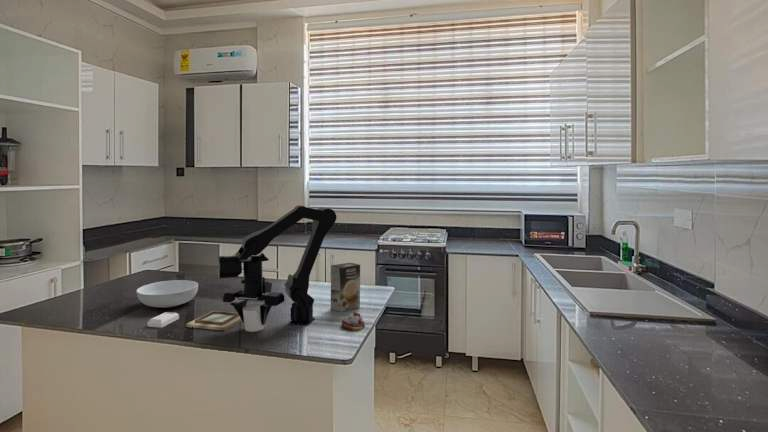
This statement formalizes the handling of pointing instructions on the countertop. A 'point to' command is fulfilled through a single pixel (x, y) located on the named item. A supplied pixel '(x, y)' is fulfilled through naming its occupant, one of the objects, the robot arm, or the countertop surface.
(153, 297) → the serving bowl
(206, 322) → the board
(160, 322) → the soap bar
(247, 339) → the countertop surface
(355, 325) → the pastry
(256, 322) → the white tapered cylinder
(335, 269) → the coffee box
